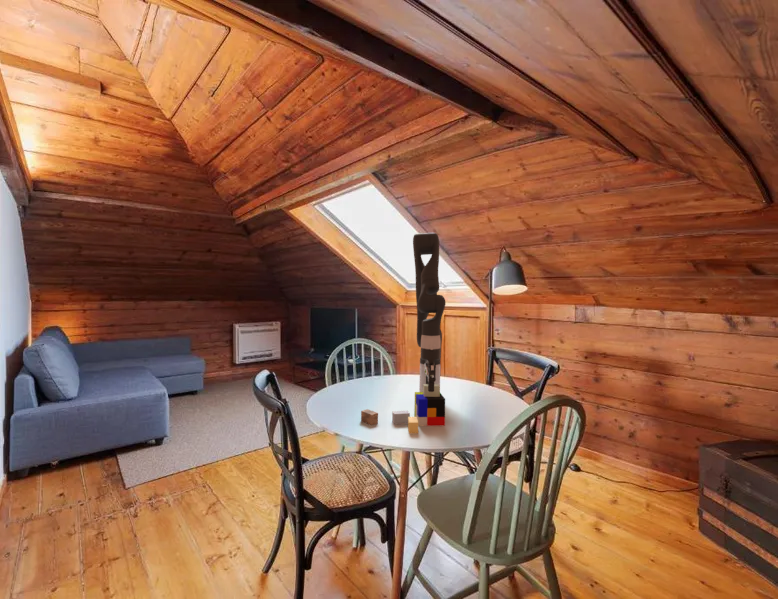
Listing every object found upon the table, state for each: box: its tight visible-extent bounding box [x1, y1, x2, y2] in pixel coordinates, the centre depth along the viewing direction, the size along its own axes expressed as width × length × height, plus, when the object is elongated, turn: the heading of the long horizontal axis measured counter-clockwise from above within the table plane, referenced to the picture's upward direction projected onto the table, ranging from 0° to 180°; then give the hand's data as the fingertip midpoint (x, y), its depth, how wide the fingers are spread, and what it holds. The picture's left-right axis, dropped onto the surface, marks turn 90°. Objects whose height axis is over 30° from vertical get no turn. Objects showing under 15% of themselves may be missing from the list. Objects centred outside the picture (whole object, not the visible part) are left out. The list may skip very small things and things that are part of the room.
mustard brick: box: [407, 416, 419, 434], centre depth 142 cm, size 6×3×4 cm, turn 1°
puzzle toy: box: [413, 391, 446, 427], centre depth 152 cm, size 10×10×10 cm
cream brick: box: [423, 384, 441, 397], centre depth 152 cm, size 6×3×4 cm, turn 91°
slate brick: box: [391, 410, 411, 425], centre depth 150 cm, size 6×3×4 cm, turn 102°
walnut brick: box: [360, 408, 379, 426], centre depth 150 cm, size 6×3×4 cm, turn 45°
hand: (429, 388), depth 152 cm, fingers open, 8 cm apart
